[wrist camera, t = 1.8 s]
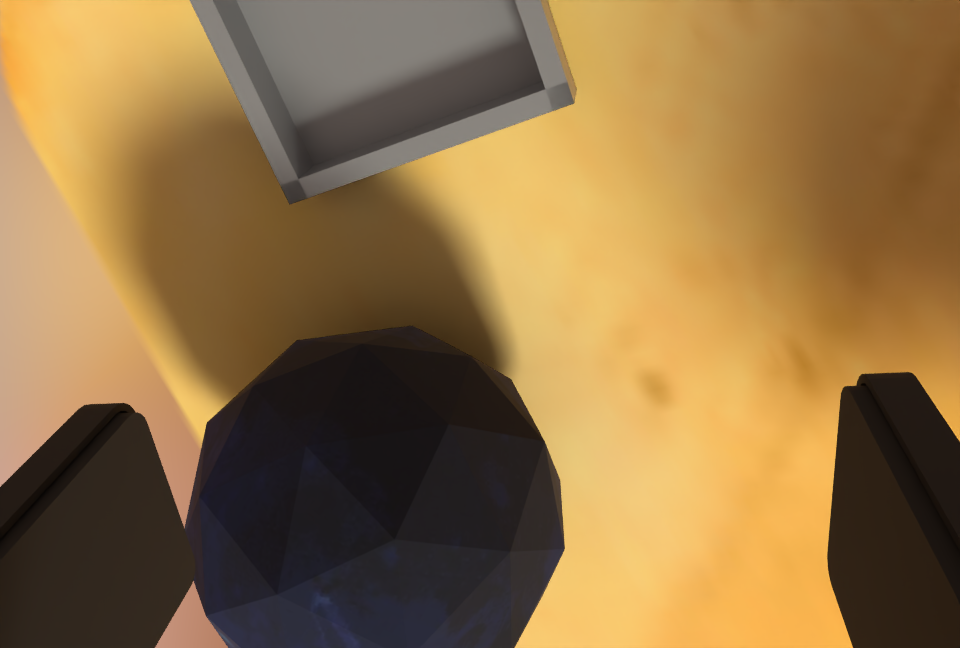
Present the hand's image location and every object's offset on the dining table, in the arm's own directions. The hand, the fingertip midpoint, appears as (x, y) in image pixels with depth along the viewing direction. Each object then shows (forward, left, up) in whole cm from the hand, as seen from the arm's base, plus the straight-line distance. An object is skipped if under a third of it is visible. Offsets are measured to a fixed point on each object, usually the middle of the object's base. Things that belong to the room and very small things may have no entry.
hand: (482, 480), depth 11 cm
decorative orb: (+11, +11, -24) cm, 28 cm away
